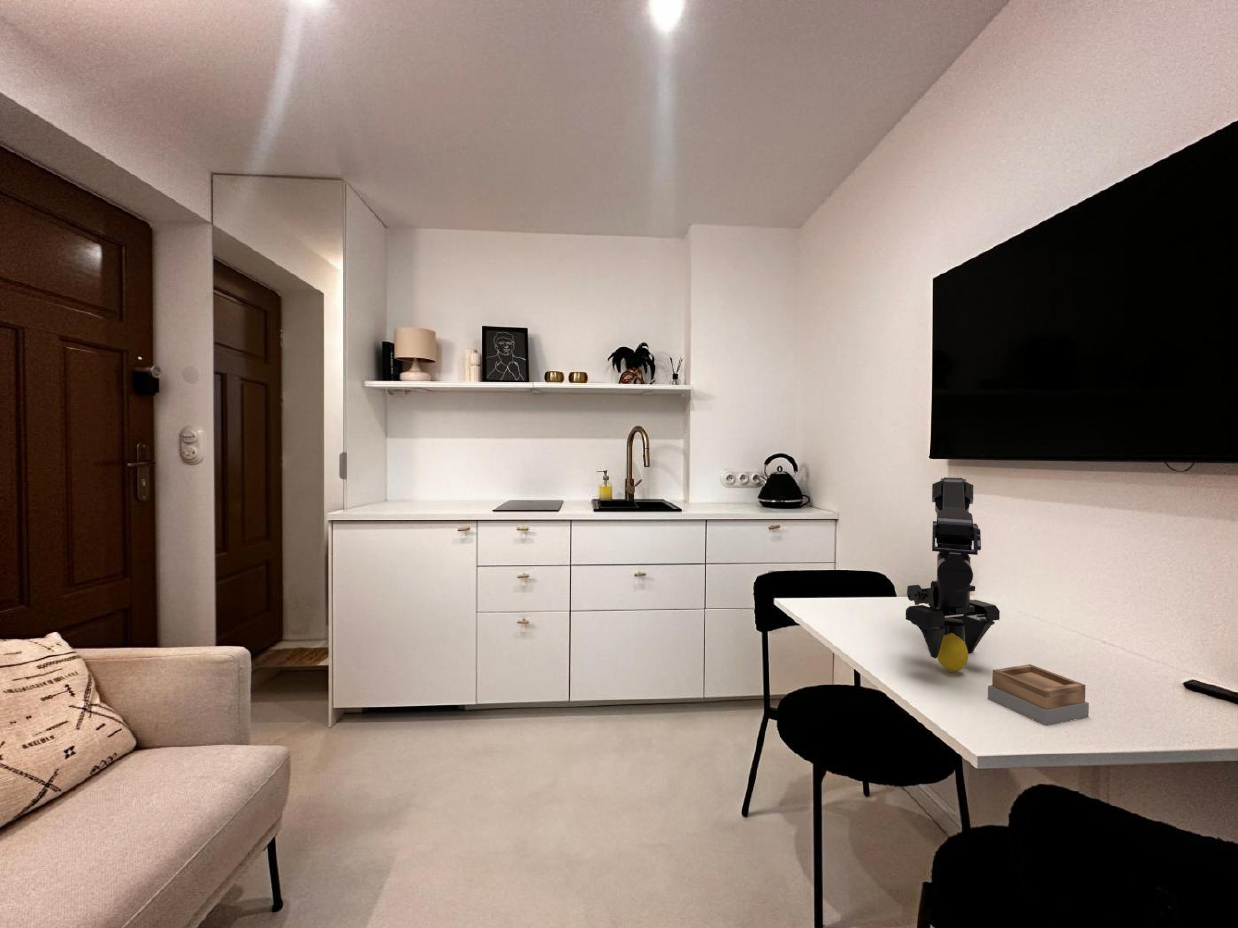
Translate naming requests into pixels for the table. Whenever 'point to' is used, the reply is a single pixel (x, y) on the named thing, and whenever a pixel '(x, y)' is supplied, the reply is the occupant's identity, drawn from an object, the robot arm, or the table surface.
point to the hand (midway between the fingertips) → (951, 654)
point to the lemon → (953, 652)
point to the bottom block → (1038, 708)
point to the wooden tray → (1038, 686)
